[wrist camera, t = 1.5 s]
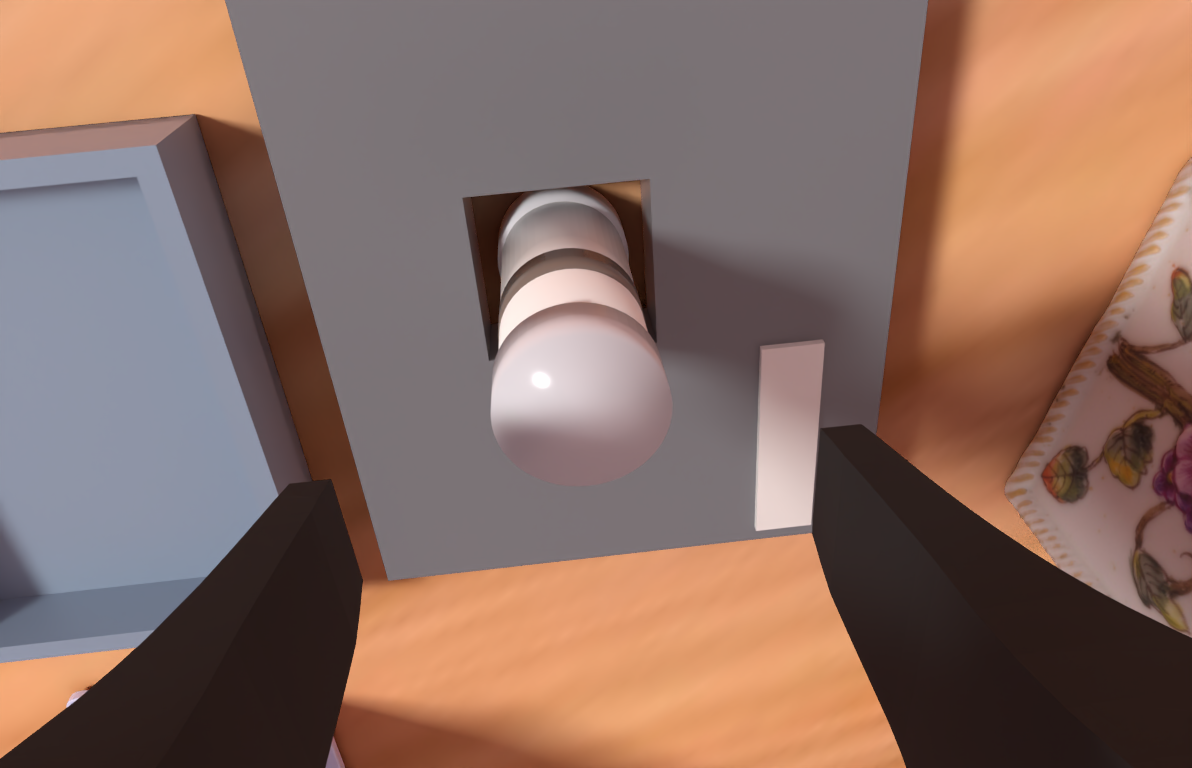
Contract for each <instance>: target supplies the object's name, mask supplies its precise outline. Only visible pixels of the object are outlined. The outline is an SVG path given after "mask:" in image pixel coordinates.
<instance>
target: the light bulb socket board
mask: <svg viewBox="0 0 1192 768" xmlns="http://www.w3.org/2000/svg"><path fill="white" fill-rule="evenodd" d="M225 2H226V6H227V9H228V13H229V16H230V20H231V24H232V27H233V31H234V34H235V38H236V41H237V45H238V48H239V52H240V55H241V59H242V63H243V66H244V70H245V73H246V77H247V80H248V84H249V87H250V91H251V95H252V98H253V102H254V105H255V109H256V112H257V116H258V119H259V123H260V127H261V130H262V134H263V137H264V141H265V144H266V148H267V151H268V155H269V159H270V162H271V166H272V169H273V173H274V176H275V180H276V183H277V187H278V190H279V194H280V198H281V201H282V205H283V208H284V212H285V215H286V219H287V222H288V226H289V230H290V233H291V237H292V240H293V244H294V247H295V251H296V254H297V258H298V262H299V265H300V269H301V272H302V276H303V279H304V283H305V286H306V290H307V294H308V297H309V301H310V304H311V308H312V311H313V315H314V318H315V322H316V325H317V329H318V333H319V336H320V340H321V343H322V347H323V350H324V354H325V357H326V361H327V365H328V368H329V372H330V375H331V379H332V382H333V386H334V389H335V393H336V397H337V400H338V404H339V407H340V411H341V414H342V418H343V421H344V425H345V429H346V432H347V436H348V439H349V443H350V446H351V450H352V453H353V457H354V460H355V464H356V468H357V471H358V475H359V478H360V482H361V485H362V489H363V492H364V496H365V500H366V503H367V507H368V510H369V514H370V517H371V521H372V524H373V528H374V532H375V535H376V539H377V542H378V546H379V549H380V553H381V556H382V560H383V564H384V567H385V571H386V574H387V578H388V581H390V580H399V579H408V578H417V577H426V576H435V575H443V574H452V573H461V572H470V571H479V570H488V569H496V568H505V567H514V566H523V565H532V564H541V563H549V562H558V561H567V560H576V559H585V558H594V557H603V556H611V555H620V554H629V553H638V552H647V551H656V550H664V549H673V548H682V547H691V546H700V545H709V544H717V543H726V542H735V541H744V540H753V539H762V538H770V537H779V536H788V535H797V534H806V533H812V525H813V513H814V500H815V488H816V476H817V463H818V451H819V438H820V428H827V427H837V426H846V425H856V424H862V425H863V426H865V427H866V428H867V429H869V430H870V431H871V432H872V433H874V434H875V435H876V432H877V424H878V415H879V407H880V399H881V390H882V382H883V374H884V365H885V357H886V349H887V340H888V332H889V324H890V315H891V307H892V298H893V290H894V282H895V273H896V265H897V257H898V248H899V240H900V232H901V223H902V215H903V207H904V198H905V190H906V182H907V173H908V165H909V156H910V148H911V140H912V131H913V123H914V115H915V106H916V98H917V90H918V81H919V73H920V65H921V56H922V48H923V39H924V31H925V23H926V14H927V6H928V0H225ZM634 180H640V184H641V204H642V224H643V244H644V264H645V285H646V305H647V307H646V308H642V310H643V313H644V317H645V321H646V327H647V331H648V333H649V334H650V336H651V337H652V339H653V340H654V342H655V344H656V346H657V348H658V350H659V353H660V357H661V360H662V364H663V367H664V370H665V374H666V377H667V381H668V384H669V388H670V391H671V395H672V404H673V406H672V418H671V423H670V426H669V429H668V432H667V434H666V436H665V438H664V440H663V442H662V443H661V445H660V446H659V448H658V449H657V451H656V452H655V453H654V454H653V455H652V456H651V457H650V458H649V459H648V460H647V461H646V462H645V463H643V464H642V465H641V466H640V467H638V468H637V469H635V470H634V471H632V472H630V473H629V474H627V475H625V476H623V477H620V478H618V479H615V480H613V481H610V482H606V483H602V484H597V485H591V486H564V485H558V484H553V483H550V482H546V481H543V480H541V479H538V478H535V477H533V476H532V475H530V474H528V473H526V472H524V471H523V470H522V469H520V468H519V467H517V466H516V465H515V464H514V463H513V462H512V461H511V460H510V459H509V458H508V457H507V456H506V455H505V453H504V452H503V451H502V449H501V447H500V446H499V444H498V442H497V440H496V438H495V435H494V432H493V428H492V424H491V392H492V373H493V366H494V361H495V358H496V355H497V353H498V350H499V341H498V324H499V323H493V324H491V321H490V314H489V308H488V302H487V295H486V289H485V283H484V276H483V270H482V264H481V258H480V251H479V245H478V239H477V232H476V226H475V220H474V214H473V207H472V201H471V197H474V196H484V195H494V194H504V193H514V192H524V191H534V190H544V189H554V188H564V187H574V186H584V185H594V184H604V183H614V182H624V181H634Z"/></svg>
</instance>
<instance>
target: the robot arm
mask: <svg viewBox="0 0 1192 768" xmlns="http://www.w3.org/2000/svg"><path fill="white" fill-rule="evenodd" d="M812 534H813V538H814V541H815V545H816V548H817V551H818V555H819V558H820V562H821V565H822V568H823V572H824V575H825V578H826V581H827V584H828V587H829V590H830V593H831V596H832V598H833V600H834V602H835V605H836V607H837V609H838V612H839V614H840V616H841V618H842V621H843V623H844V625H845V627H846V629H847V632H848V634H849V636H850V638H851V641H852V643H853V645H854V647H855V649H856V652H857V654H858V656H859V658H860V660H861V663H862V665H863V667H864V669H865V671H866V674H867V676H868V678H869V680H870V682H871V685H872V687H873V689H874V691H875V693H876V696H877V698H878V700H879V702H880V704H881V707H882V709H883V711H884V713H885V715H886V718H887V720H888V722H889V724H890V727H891V729H892V732H893V734H894V736H895V739H896V741H897V744H898V746H899V749H900V751H901V754H902V757H903V759H904V762H905V765H906V768H1192V638H1191V637H1189V636H1187V635H1185V634H1182V633H1180V632H1178V631H1176V630H1174V629H1172V628H1170V627H1168V626H1166V625H1164V624H1162V623H1160V622H1158V621H1156V620H1154V619H1152V618H1150V617H1148V616H1146V615H1144V614H1142V613H1139V612H1137V611H1135V610H1133V609H1131V608H1129V607H1127V606H1125V605H1124V604H1122V603H1120V602H1118V601H1116V600H1114V599H1112V598H1110V597H1108V596H1106V595H1105V594H1103V593H1101V592H1099V591H1097V590H1095V589H1094V588H1092V587H1090V586H1089V585H1087V584H1085V583H1083V582H1082V581H1080V580H1078V579H1076V578H1075V577H1073V576H1071V575H1070V574H1068V573H1066V572H1064V571H1063V570H1061V569H1059V568H1057V567H1056V566H1054V565H1052V564H1051V563H1049V562H1047V561H1046V560H1044V559H1043V558H1041V557H1039V556H1038V555H1036V554H1035V553H1033V552H1031V551H1030V550H1028V549H1027V548H1025V547H1024V546H1022V545H1021V544H1019V543H1018V542H1016V541H1015V540H1013V539H1012V538H1010V537H1009V536H1007V535H1006V534H1004V533H1003V532H1001V531H1000V530H999V529H997V528H996V527H994V526H993V525H991V524H990V523H988V522H987V521H985V520H984V519H983V518H981V517H980V516H979V515H977V514H976V513H974V512H973V511H972V510H970V509H969V508H967V507H966V506H965V505H963V504H962V503H961V502H959V501H958V500H957V499H955V498H954V497H953V496H951V495H950V494H949V493H947V492H946V491H945V490H944V489H942V488H941V487H940V486H938V485H937V484H936V483H935V482H933V481H932V480H931V479H929V478H928V477H927V476H926V475H924V474H923V473H922V472H921V471H919V470H918V469H917V468H916V467H914V466H913V465H912V464H911V463H909V462H908V461H907V460H906V459H904V458H903V457H902V456H901V455H899V454H898V453H897V452H896V451H895V450H893V449H892V448H891V447H890V446H888V445H887V444H886V443H885V442H884V441H882V440H881V439H880V438H879V437H877V436H876V435H875V434H874V433H872V432H871V431H870V430H869V429H867V428H866V427H865V426H863V425H862V424H856V425H846V426H837V427H827V428H820V438H819V451H818V463H817V476H816V488H815V500H814V513H813V525H812ZM362 583H363V579H362V576H361V573H360V570H359V566H358V563H357V560H356V557H355V554H354V551H353V547H352V544H351V541H350V538H349V535H348V531H347V528H346V525H345V522H344V519H343V516H342V512H341V509H340V506H339V503H338V500H337V496H336V493H335V490H334V487H333V484H332V481H331V479H328V480H319V481H309V482H299V483H290V484H289V485H288V486H287V487H286V488H285V489H284V490H283V491H282V492H281V493H280V494H279V496H278V497H277V498H276V499H275V500H274V501H273V502H272V503H271V505H270V506H269V507H268V508H267V509H266V510H265V512H264V513H263V514H262V515H261V516H260V517H259V518H258V520H257V521H256V522H255V523H254V524H253V525H252V526H251V528H250V529H249V530H248V531H247V532H246V533H245V534H244V536H243V537H242V538H241V539H240V540H239V541H238V542H237V544H236V545H235V546H234V547H233V548H232V549H231V550H230V551H229V553H228V554H227V555H226V556H225V557H224V558H223V559H222V560H221V561H220V563H219V564H218V565H217V566H216V567H215V568H214V569H213V570H212V571H211V573H210V574H209V575H208V576H207V577H206V578H205V579H204V580H203V581H202V582H201V584H200V585H199V586H198V587H197V588H196V589H195V590H194V591H193V592H192V593H191V594H190V595H189V596H188V597H187V598H186V599H185V600H184V601H183V602H182V603H181V604H180V605H179V606H178V607H177V608H176V609H175V610H174V611H173V612H172V613H171V614H170V615H169V616H168V617H167V618H166V619H165V620H164V621H163V622H162V623H161V624H160V625H159V626H158V627H157V628H156V629H155V630H154V631H153V632H152V633H151V634H150V635H149V636H148V637H147V638H146V639H145V640H144V641H143V642H142V643H141V644H140V645H139V646H138V647H137V648H136V649H134V650H133V651H132V652H131V653H130V654H129V655H128V656H127V657H126V658H125V659H123V660H122V661H121V662H120V663H119V664H118V665H117V666H116V667H115V668H113V669H112V670H111V671H110V672H109V673H108V674H106V675H105V676H104V677H103V678H102V679H101V680H99V681H98V682H97V683H96V684H95V685H94V686H93V687H91V688H90V689H89V690H83V691H78V692H75V693H74V694H72V695H71V697H70V699H69V701H68V703H67V708H66V709H65V710H63V711H62V712H61V713H59V714H58V715H57V716H56V717H54V718H53V719H52V720H50V721H49V722H48V723H46V724H45V725H44V726H42V727H41V728H40V729H39V730H37V731H36V732H35V733H33V734H32V735H31V736H29V737H28V738H27V739H26V740H24V741H23V742H22V743H20V744H19V745H18V746H16V747H15V748H14V749H12V750H11V751H10V752H9V753H7V754H6V755H5V756H3V757H2V758H1V759H0V768H345V766H344V763H343V760H342V758H341V755H340V753H339V750H338V747H337V745H336V742H335V739H334V737H333V736H334V732H335V728H336V724H337V720H338V716H339V712H340V708H341V704H342V700H343V696H344V691H345V687H346V683H347V679H348V675H349V671H350V667H351V662H352V658H353V654H354V650H355V645H356V639H357V630H358V622H359V614H360V604H361V593H362Z"/></svg>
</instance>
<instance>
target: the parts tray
mask: <svg viewBox="0 0 1192 768" xmlns="http://www.w3.org/2000/svg"><path fill="white" fill-rule="evenodd" d="M309 481H312V478H311V475H310V472H309V469H308V466H307V463H306V459H305V456H304V453H303V450H302V447H301V444H300V441H299V437H298V434H297V431H296V428H295V425H294V422H293V419H292V416H291V412H290V409H289V406H288V403H287V400H286V397H285V394H284V390H283V387H282V384H281V381H280V378H279V375H278V372H277V369H276V365H275V362H274V359H273V356H272V353H271V350H270V347H269V343H268V340H267V337H266V334H265V331H264V328H263V325H262V322H261V318H260V315H259V312H258V309H257V306H256V303H255V300H254V296H253V293H252V290H251V287H250V284H249V281H248V278H247V275H246V271H245V268H244V265H243V262H242V259H241V256H240V253H239V249H238V246H237V243H236V240H235V237H234V234H233V231H232V228H231V224H230V221H229V218H228V215H227V212H226V209H225V206H224V202H223V199H222V196H221V193H220V190H219V187H218V184H217V181H216V177H215V174H214V171H213V168H212V165H211V162H210V159H209V155H208V152H207V149H206V146H205V143H204V140H203V137H202V134H201V130H200V127H199V124H198V121H197V118H196V115H195V114H192V115H182V116H171V117H161V118H151V119H140V120H130V121H120V122H109V123H99V124H89V125H78V126H68V127H58V128H47V129H37V130H27V131H16V132H6V133H0V663H5V662H14V661H22V660H31V659H40V658H48V657H57V656H66V655H75V654H83V653H92V652H101V651H110V650H118V649H127V648H136V647H138V646H139V645H140V644H141V643H142V642H143V641H144V640H145V639H146V638H147V637H148V636H149V635H150V634H151V633H152V632H153V631H154V630H155V629H156V628H157V627H158V626H159V625H160V624H161V623H162V622H163V621H164V620H165V619H166V618H167V617H168V616H169V615H170V614H171V613H172V612H173V611H174V610H175V609H176V608H177V607H178V606H179V605H180V604H181V603H182V602H183V601H184V600H185V599H186V598H187V597H188V596H189V595H190V594H191V593H192V592H193V591H194V590H195V589H196V588H197V587H198V586H199V585H200V584H201V582H202V581H203V580H204V579H205V578H206V577H207V576H208V575H209V574H210V573H211V571H212V570H213V569H214V568H215V567H216V566H217V565H218V564H219V563H220V561H221V560H222V559H223V558H224V557H225V556H226V555H227V554H228V553H229V551H230V550H231V549H232V548H233V547H234V546H235V545H236V544H237V542H238V541H239V540H240V539H241V538H242V537H243V536H244V534H245V533H246V532H247V531H248V530H249V529H250V528H251V526H252V525H253V524H254V523H255V522H256V521H257V520H258V518H259V517H260V516H261V515H262V514H263V513H264V512H265V510H266V509H267V508H268V507H269V506H270V505H271V503H272V502H273V501H274V500H275V499H276V498H277V497H278V496H279V494H280V493H281V492H282V491H283V490H284V489H285V488H286V487H287V486H288V485H289V484H290V483H299V482H309Z"/></svg>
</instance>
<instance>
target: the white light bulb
mask: <svg viewBox="0 0 1192 768" xmlns="http://www.w3.org/2000/svg"><path fill="white" fill-rule="evenodd" d="M498 269H499V273H500V277H501V294H500V305H499V324H498V341H499V350H498V353H497V355H496V358H495V361H494V366H493V373H492V392H491V424H492V428H493V432H494V435H495V438H496V440H497V442H498V444H499V446H500V447H501V449H502V451H503V452H504V453H505V455H506V456H507V457H508V458H509V459H510V460H511V461H512V462H513V463H514V464H515V465H516V466H517V467H519V468H520V469H522V470H523V471H524V472H526V473H528V474H530V475H532V476H533V477H535V478H538V479H541V480H543V481H546V482H550V483H553V484H558V485H564V486H591V485H597V484H602V483H606V482H610V481H613V480H615V479H618V478H620V477H623V476H625V475H627V474H629V473H630V472H632V471H634V470H635V469H637V468H638V467H640V466H641V465H642V464H643V463H645V462H646V461H647V460H648V459H649V458H650V457H651V456H652V455H653V454H654V453H655V452H656V451H657V449H658V448H659V446H660V445H661V443H662V442H663V440H664V438H665V436H666V434H667V432H668V429H669V426H670V423H671V418H672V406H673V404H672V395H671V391H670V388H669V384H668V381H667V377H666V374H665V370H664V367H663V364H662V360H661V357H660V353H659V350H658V348H657V346H656V344H655V342H654V340H653V339H652V337H651V336H650V334H649V333H648V331H647V327H646V321H645V317H644V313H643V310H642V306H641V303H640V299H639V296H638V292H637V289H636V287H635V285H634V281H633V278H632V274H631V271H630V267H629V251H628V245H627V241H626V238H625V234H624V231H623V228H622V224H621V221H620V218H619V216H618V214H617V212H616V210H615V209H614V207H613V206H612V205H611V203H610V202H609V201H608V200H607V199H606V198H605V197H604V196H603V195H601V194H600V193H599V192H597V191H596V190H594V189H592V188H590V187H588V186H586V185H584V186H574V187H564V188H554V189H544V190H534V191H526V192H524V193H523V194H522V195H521V196H519V197H518V198H517V199H516V200H515V201H514V202H513V203H512V204H511V206H510V207H509V209H508V210H507V212H506V213H505V215H504V217H503V220H502V223H501V225H500V230H499V240H498Z"/></svg>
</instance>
